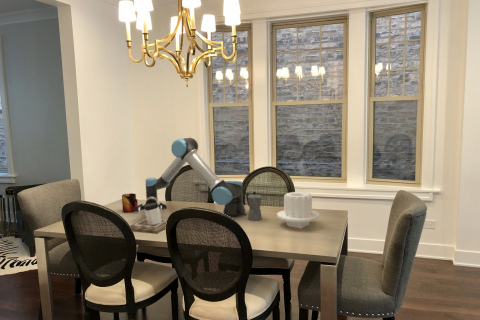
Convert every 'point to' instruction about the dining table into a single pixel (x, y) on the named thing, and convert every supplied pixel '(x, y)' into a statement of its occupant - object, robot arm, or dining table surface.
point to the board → (148, 226)
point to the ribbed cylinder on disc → (297, 209)
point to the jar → (153, 214)
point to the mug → (129, 202)
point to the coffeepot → (254, 206)
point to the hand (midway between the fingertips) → (150, 211)
